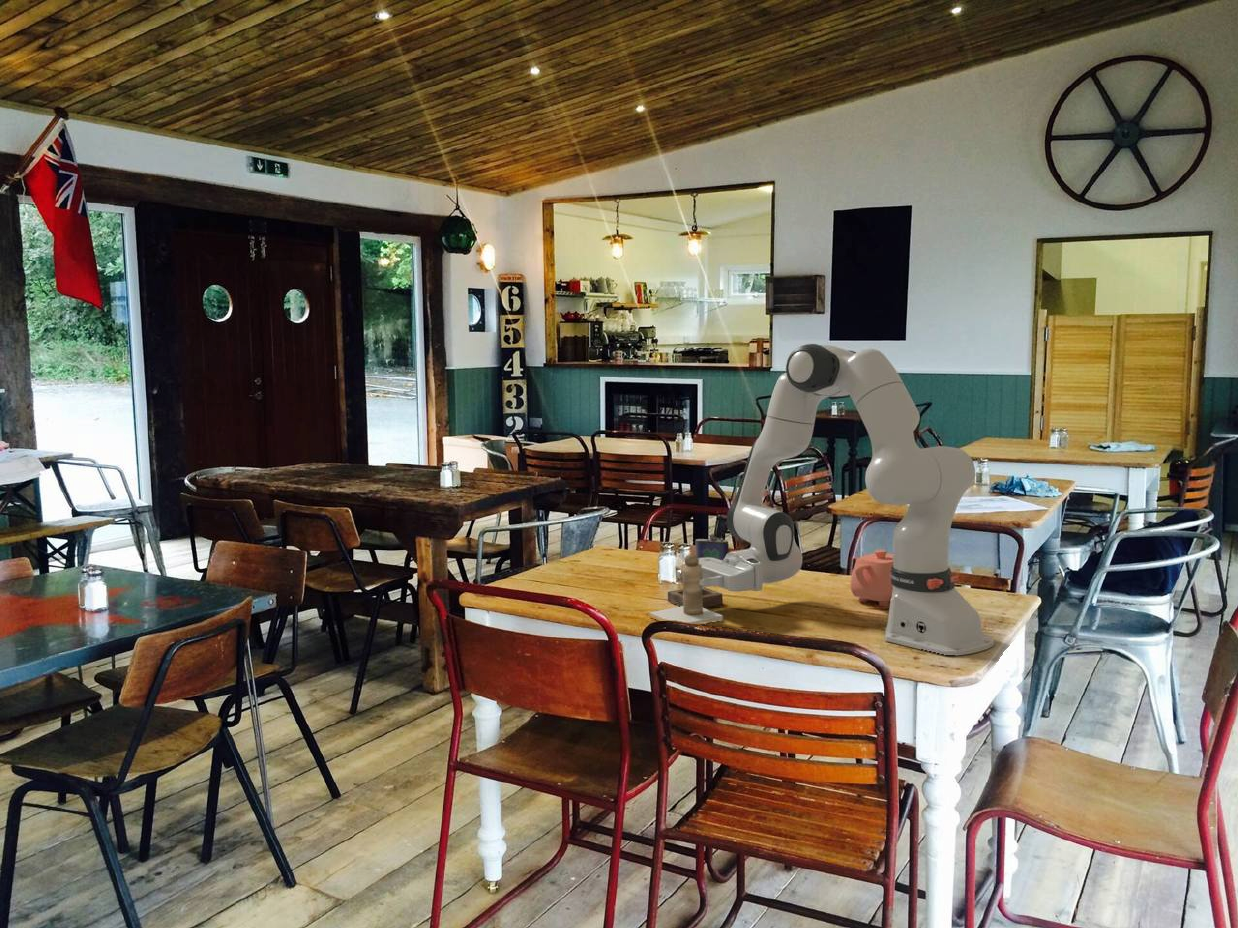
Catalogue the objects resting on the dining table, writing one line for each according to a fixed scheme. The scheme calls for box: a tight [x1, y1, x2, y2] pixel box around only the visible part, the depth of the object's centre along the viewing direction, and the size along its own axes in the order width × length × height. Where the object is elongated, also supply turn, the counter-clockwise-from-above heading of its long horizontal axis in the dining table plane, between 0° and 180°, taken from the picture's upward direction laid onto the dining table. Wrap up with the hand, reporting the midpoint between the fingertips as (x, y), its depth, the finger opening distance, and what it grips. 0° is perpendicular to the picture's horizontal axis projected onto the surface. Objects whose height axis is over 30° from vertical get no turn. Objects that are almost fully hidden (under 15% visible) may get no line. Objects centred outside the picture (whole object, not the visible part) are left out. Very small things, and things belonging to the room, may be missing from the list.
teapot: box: [850, 549, 893, 608], centre depth 242 cm, size 20×12×12 cm, turn 131°
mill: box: [681, 553, 703, 615], centre depth 233 cm, size 4×4×14 cm
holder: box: [667, 587, 724, 609], centre depth 246 cm, size 9×9×2 cm
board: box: [648, 606, 724, 624], centre depth 233 cm, size 12×12×1 cm
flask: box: [694, 532, 730, 560], centre depth 274 cm, size 9×3×11 cm, turn 65°
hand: (689, 578), depth 232 cm, fingers open, 8 cm apart
